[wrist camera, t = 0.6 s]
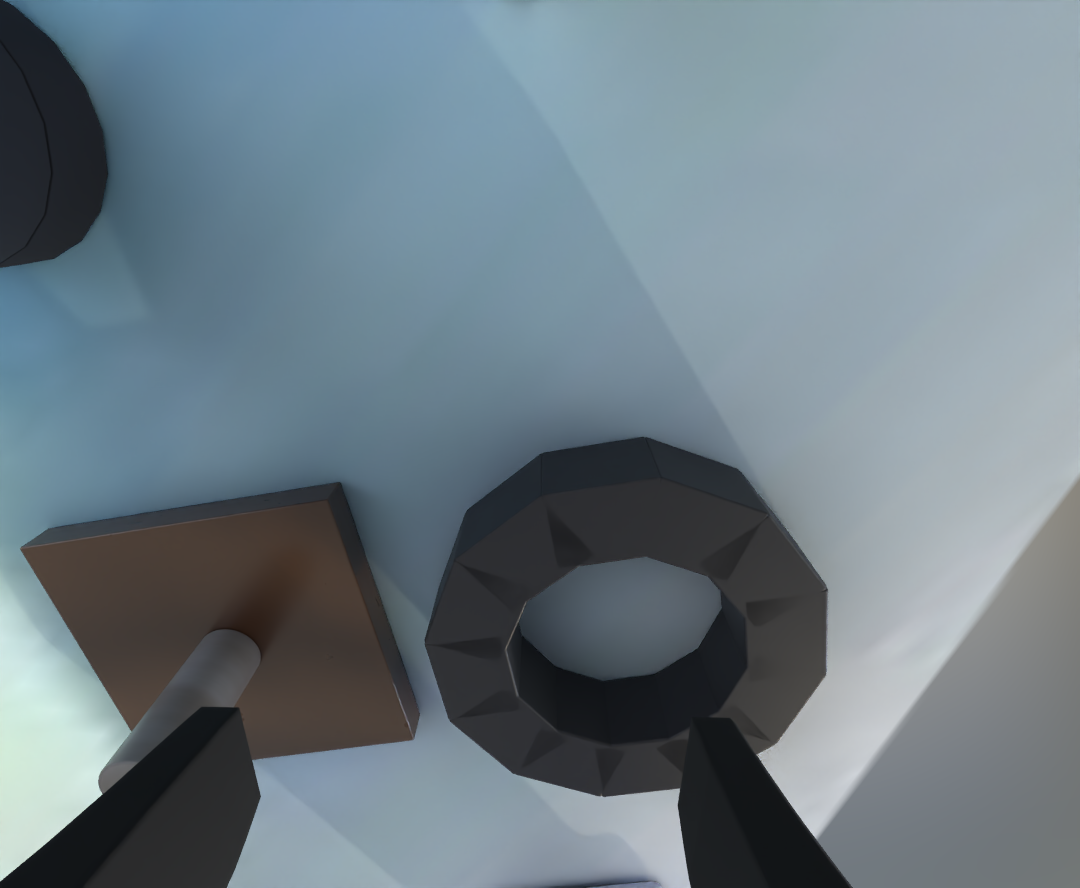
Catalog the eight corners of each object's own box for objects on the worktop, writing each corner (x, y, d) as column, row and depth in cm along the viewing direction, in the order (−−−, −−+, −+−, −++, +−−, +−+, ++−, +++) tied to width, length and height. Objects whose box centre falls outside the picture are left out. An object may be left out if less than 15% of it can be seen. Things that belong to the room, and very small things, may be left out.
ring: (794, 705, 22) (826, 773, 20) (485, 743, 23) (477, 812, 21) (789, 412, 18) (831, 450, 15) (405, 474, 19) (382, 519, 16)
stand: (420, 713, 23) (378, 891, 17) (173, 745, 23) (53, 924, 18) (340, 481, 19) (250, 609, 13) (48, 527, 19) (-158, 667, 14)
